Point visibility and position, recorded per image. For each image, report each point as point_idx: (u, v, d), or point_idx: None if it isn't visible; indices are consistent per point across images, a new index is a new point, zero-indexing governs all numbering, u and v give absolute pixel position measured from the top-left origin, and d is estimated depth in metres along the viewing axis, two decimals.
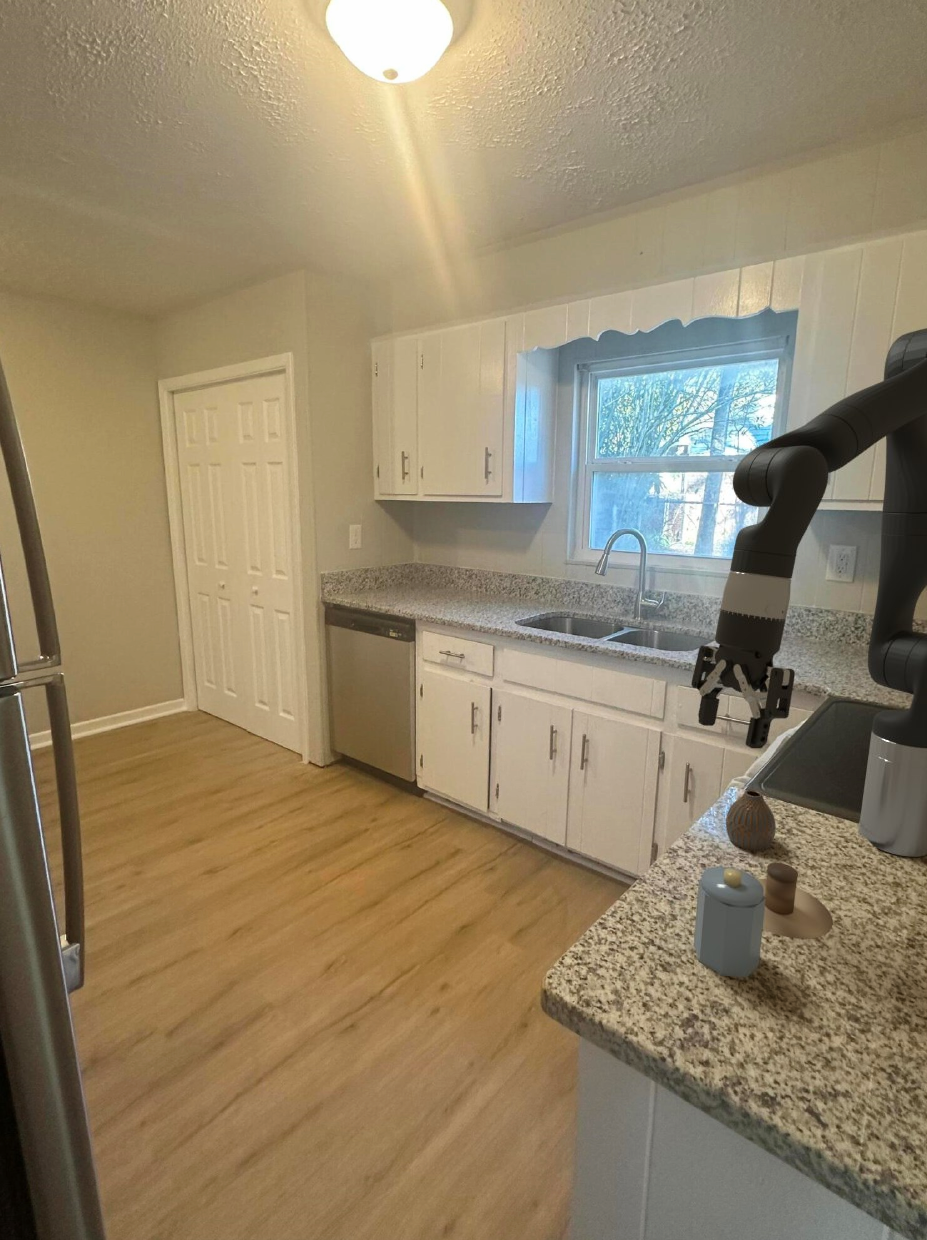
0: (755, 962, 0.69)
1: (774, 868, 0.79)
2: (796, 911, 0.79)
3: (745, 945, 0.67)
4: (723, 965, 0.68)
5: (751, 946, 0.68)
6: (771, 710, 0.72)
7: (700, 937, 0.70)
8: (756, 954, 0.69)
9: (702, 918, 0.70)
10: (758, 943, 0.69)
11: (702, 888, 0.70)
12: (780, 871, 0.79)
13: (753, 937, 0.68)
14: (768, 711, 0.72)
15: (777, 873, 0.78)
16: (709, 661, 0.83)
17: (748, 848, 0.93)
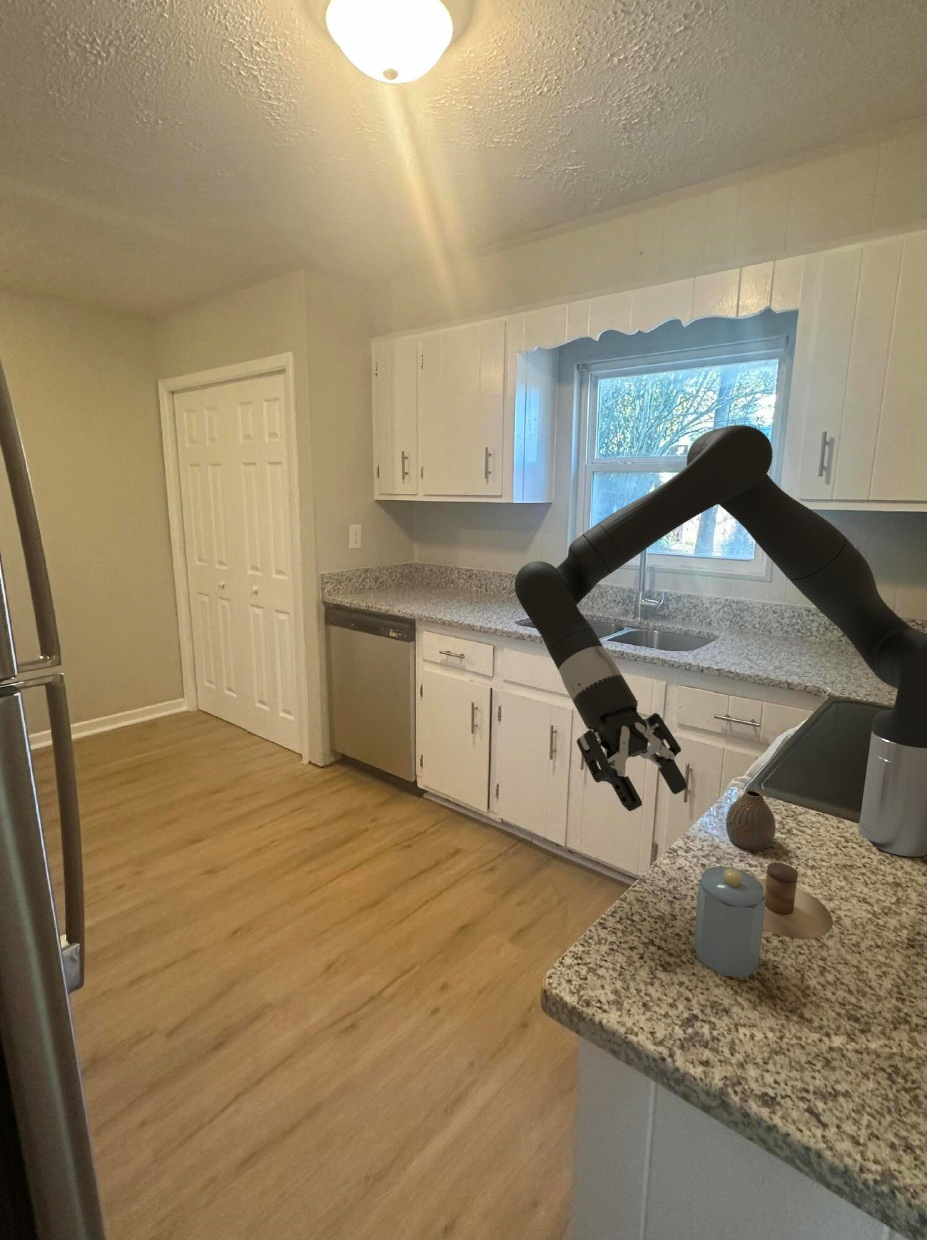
0: (755, 962, 0.69)
1: (774, 868, 0.79)
2: (796, 911, 0.79)
3: (745, 945, 0.67)
4: (723, 965, 0.68)
5: (751, 946, 0.68)
6: None
7: (700, 937, 0.70)
8: (756, 954, 0.69)
9: (702, 918, 0.70)
10: (758, 943, 0.69)
11: (702, 888, 0.70)
12: (780, 871, 0.79)
13: (753, 937, 0.68)
14: None
15: (777, 873, 0.78)
16: (649, 732, 0.84)
17: (748, 848, 0.93)
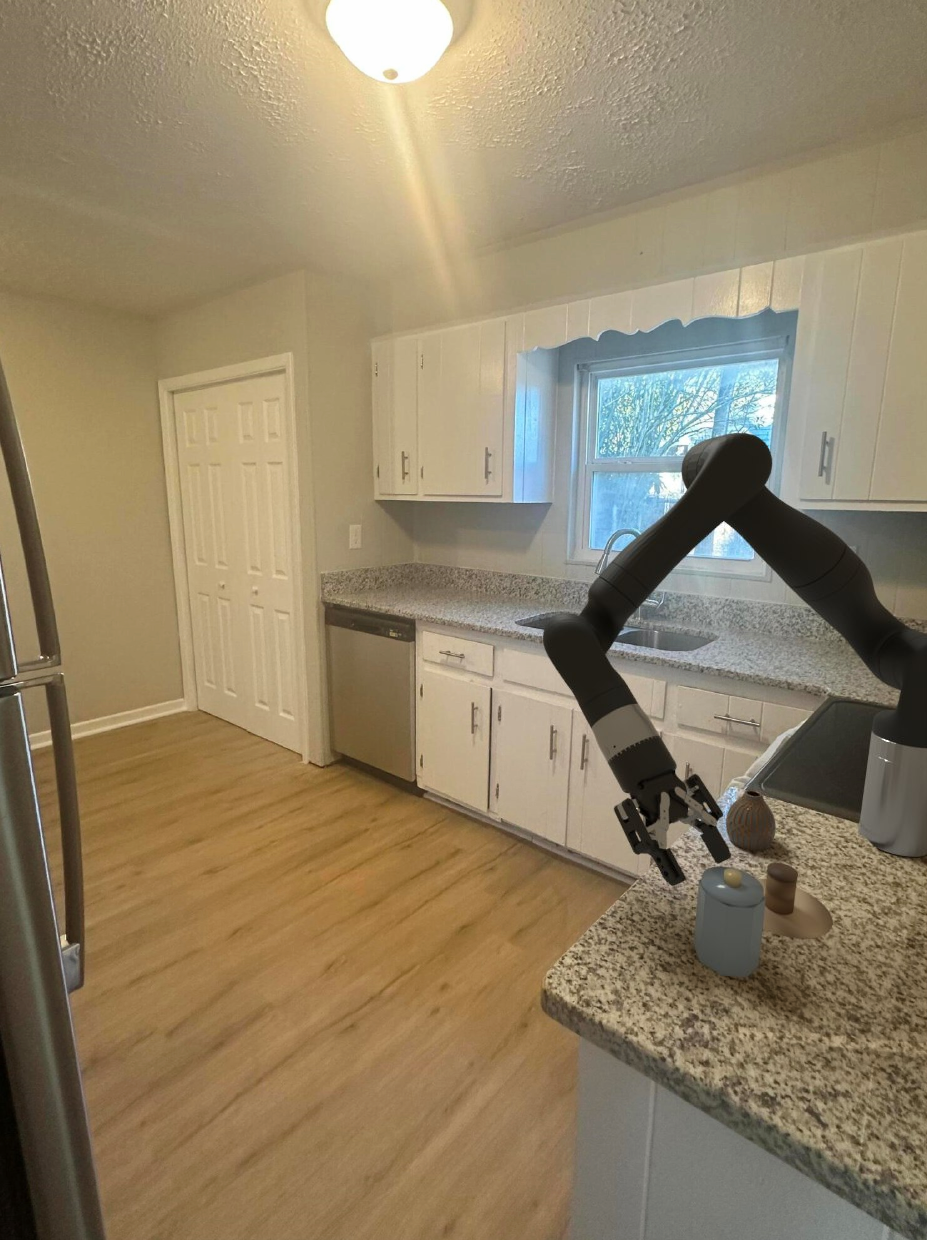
0: (755, 962, 0.69)
1: (774, 868, 0.79)
2: (796, 911, 0.79)
3: (745, 945, 0.67)
4: (723, 965, 0.68)
5: (751, 946, 0.68)
6: None
7: (700, 937, 0.70)
8: (756, 954, 0.69)
9: (702, 918, 0.70)
10: (758, 943, 0.69)
11: (702, 888, 0.70)
12: (780, 871, 0.79)
13: (753, 937, 0.68)
14: None
15: (777, 873, 0.78)
16: None
17: (748, 848, 0.93)
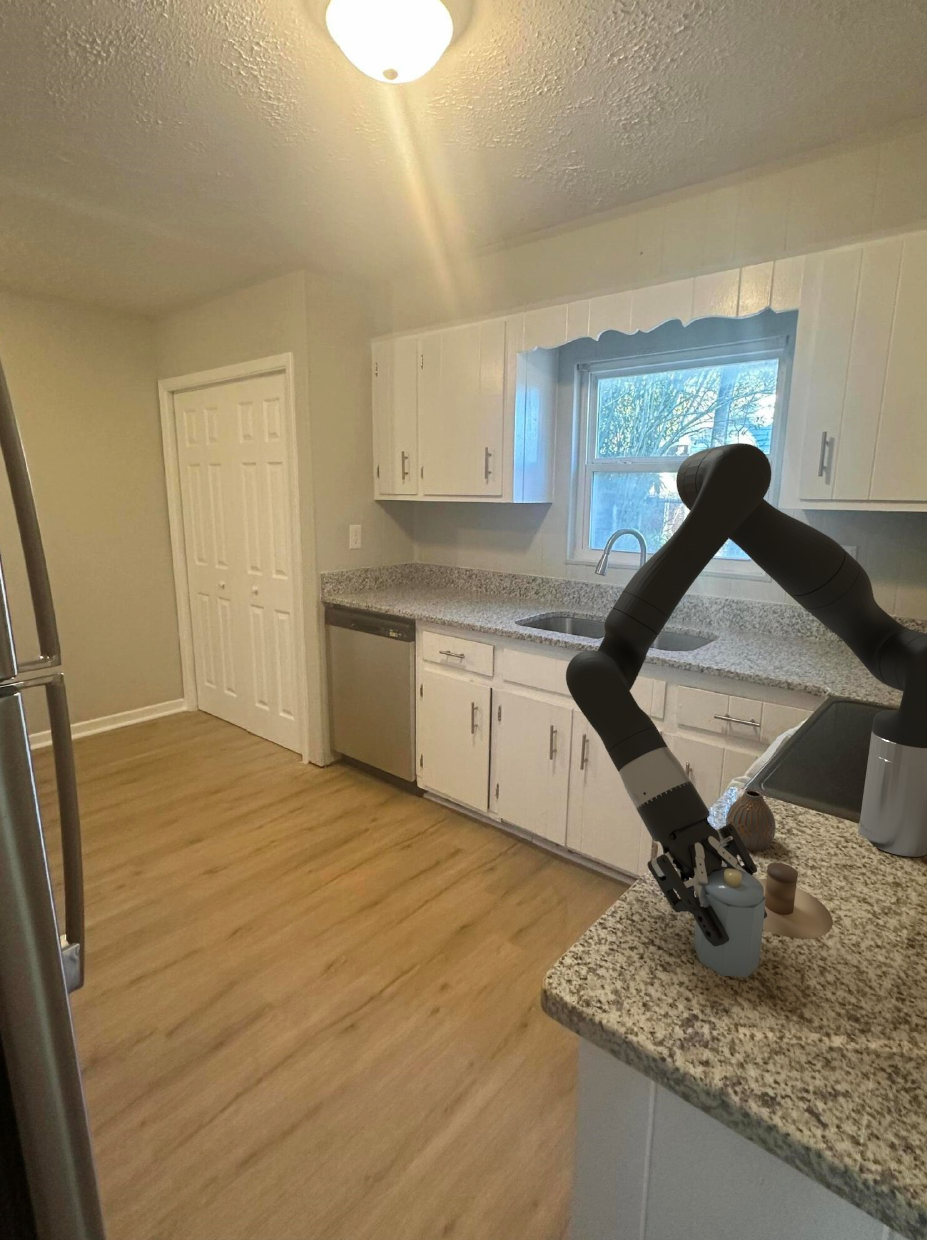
0: (755, 962, 0.69)
1: (774, 868, 0.79)
2: (796, 911, 0.79)
3: (745, 945, 0.67)
4: (723, 965, 0.68)
5: (751, 946, 0.68)
6: None
7: (700, 937, 0.70)
8: (756, 954, 0.69)
9: None
10: (758, 944, 0.69)
11: None
12: (780, 871, 0.79)
13: (753, 938, 0.68)
14: None
15: (777, 873, 0.78)
16: None
17: (748, 848, 0.93)
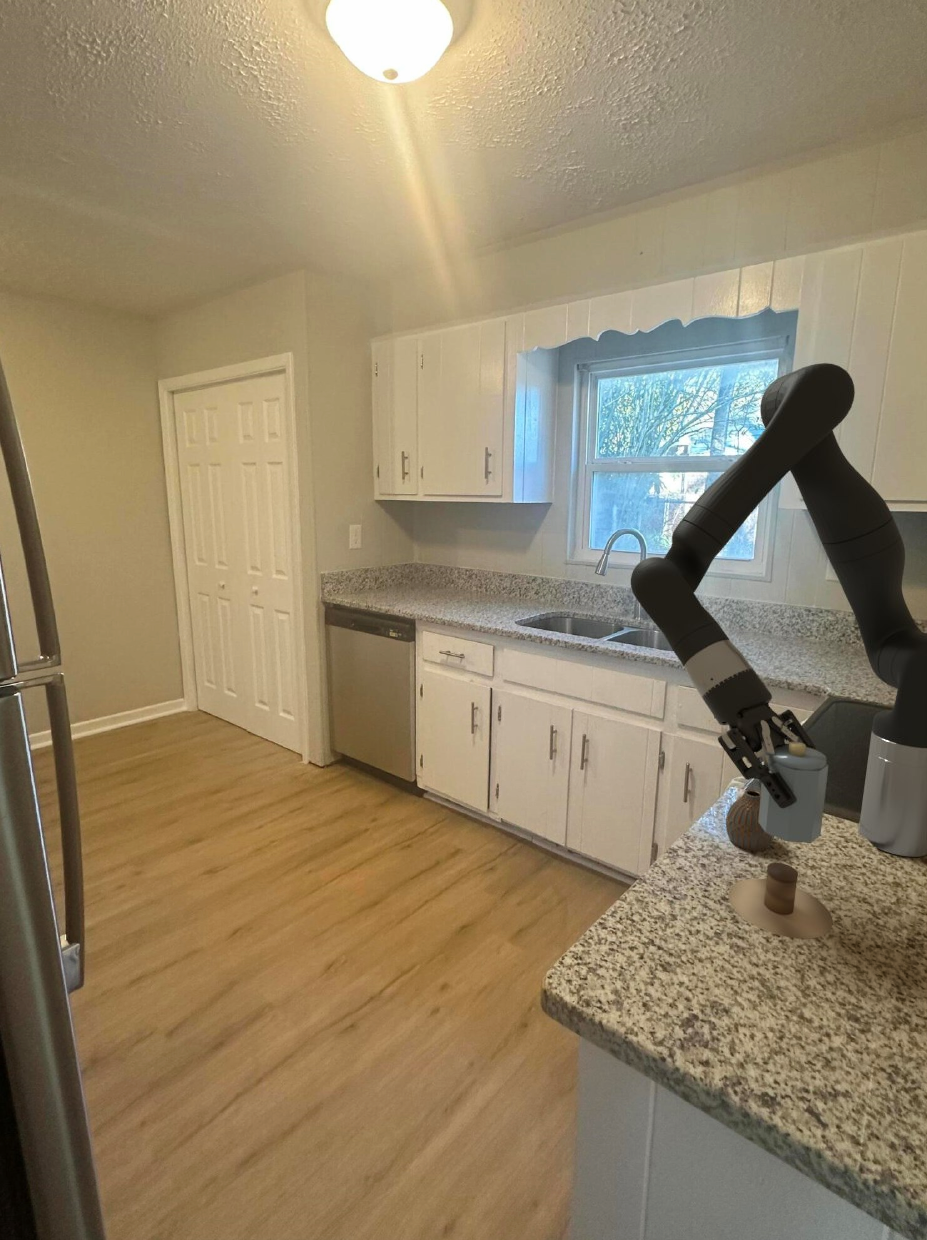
0: (818, 825, 0.75)
1: (774, 868, 0.79)
2: (796, 911, 0.79)
3: (811, 806, 0.74)
4: (789, 826, 0.74)
5: (816, 808, 0.74)
6: None
7: (767, 805, 0.77)
8: (819, 817, 0.75)
9: None
10: (821, 807, 0.75)
11: None
12: (780, 871, 0.79)
13: (818, 800, 0.74)
14: None
15: (777, 873, 0.78)
16: None
17: (748, 848, 0.93)
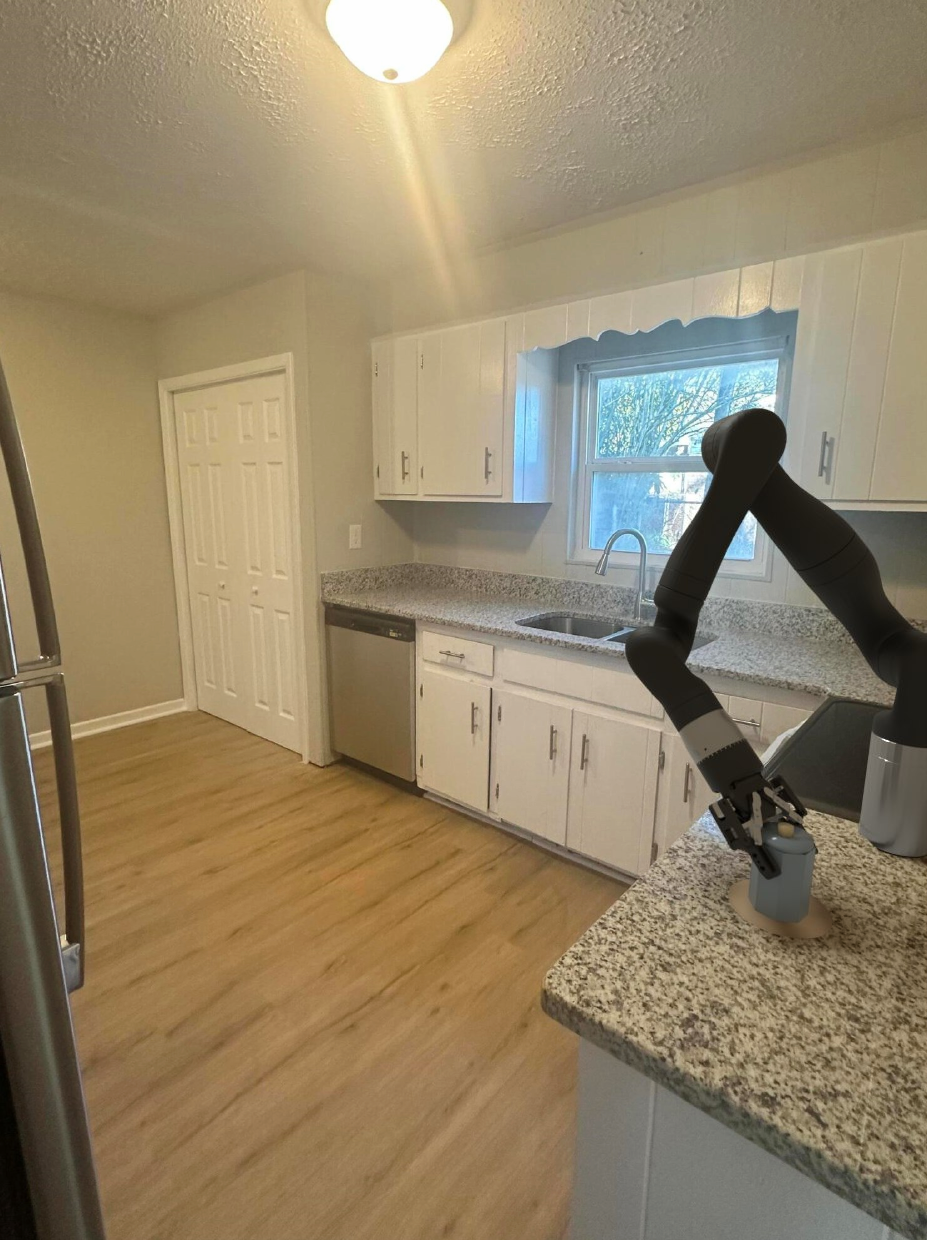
0: (806, 905, 0.78)
1: None
2: None
3: (798, 888, 0.76)
4: (777, 907, 0.77)
5: (803, 889, 0.76)
6: None
7: (756, 883, 0.79)
8: (807, 897, 0.77)
9: None
10: (808, 888, 0.77)
11: None
12: None
13: (805, 882, 0.76)
14: None
15: None
16: None
17: None
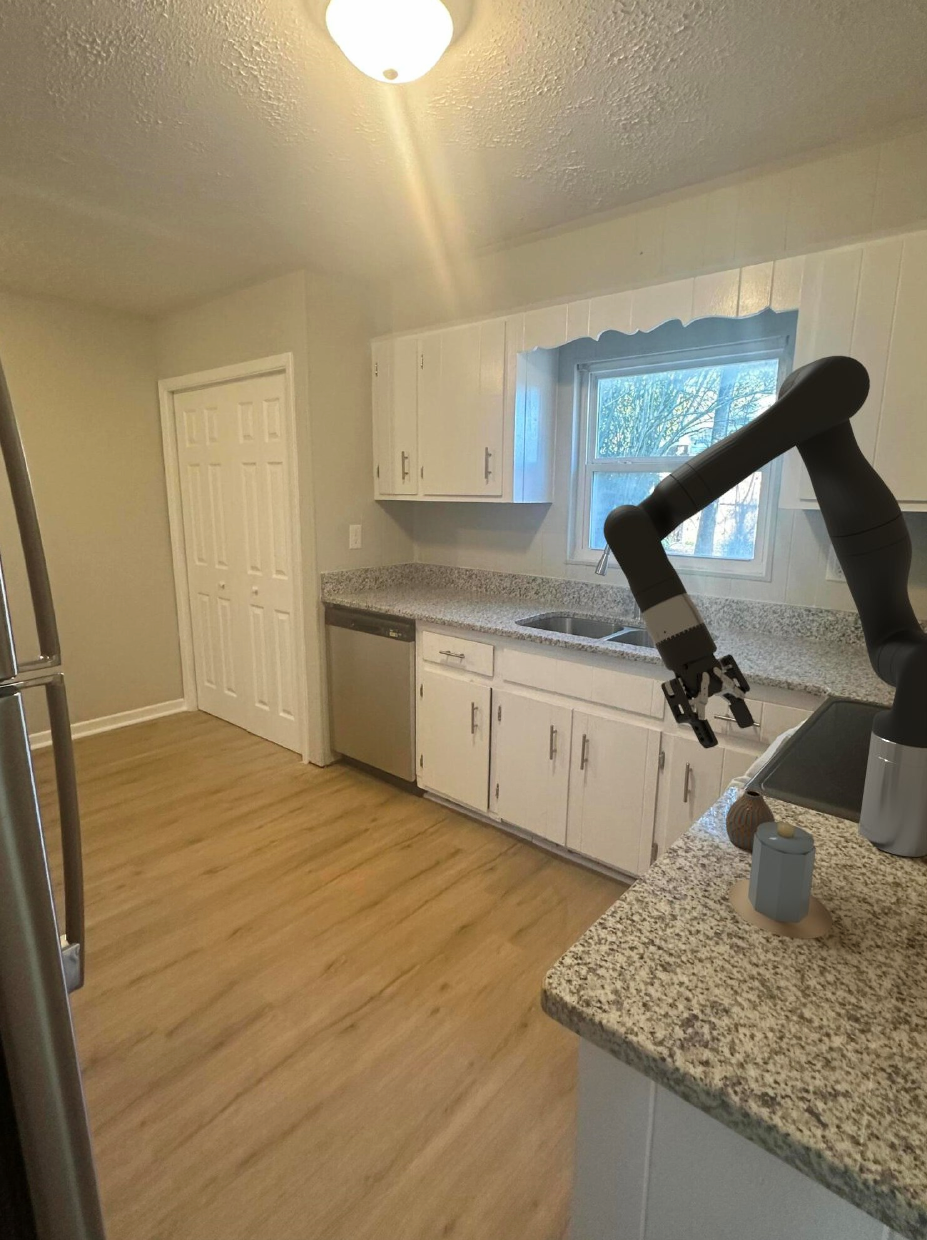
0: (806, 905, 0.78)
1: None
2: None
3: (798, 888, 0.76)
4: (777, 907, 0.77)
5: (803, 889, 0.76)
6: None
7: (756, 883, 0.79)
8: (807, 897, 0.77)
9: (758, 866, 0.78)
10: (808, 888, 0.77)
11: (758, 839, 0.79)
12: None
13: (805, 882, 0.76)
14: None
15: None
16: (722, 671, 0.92)
17: (748, 848, 0.93)
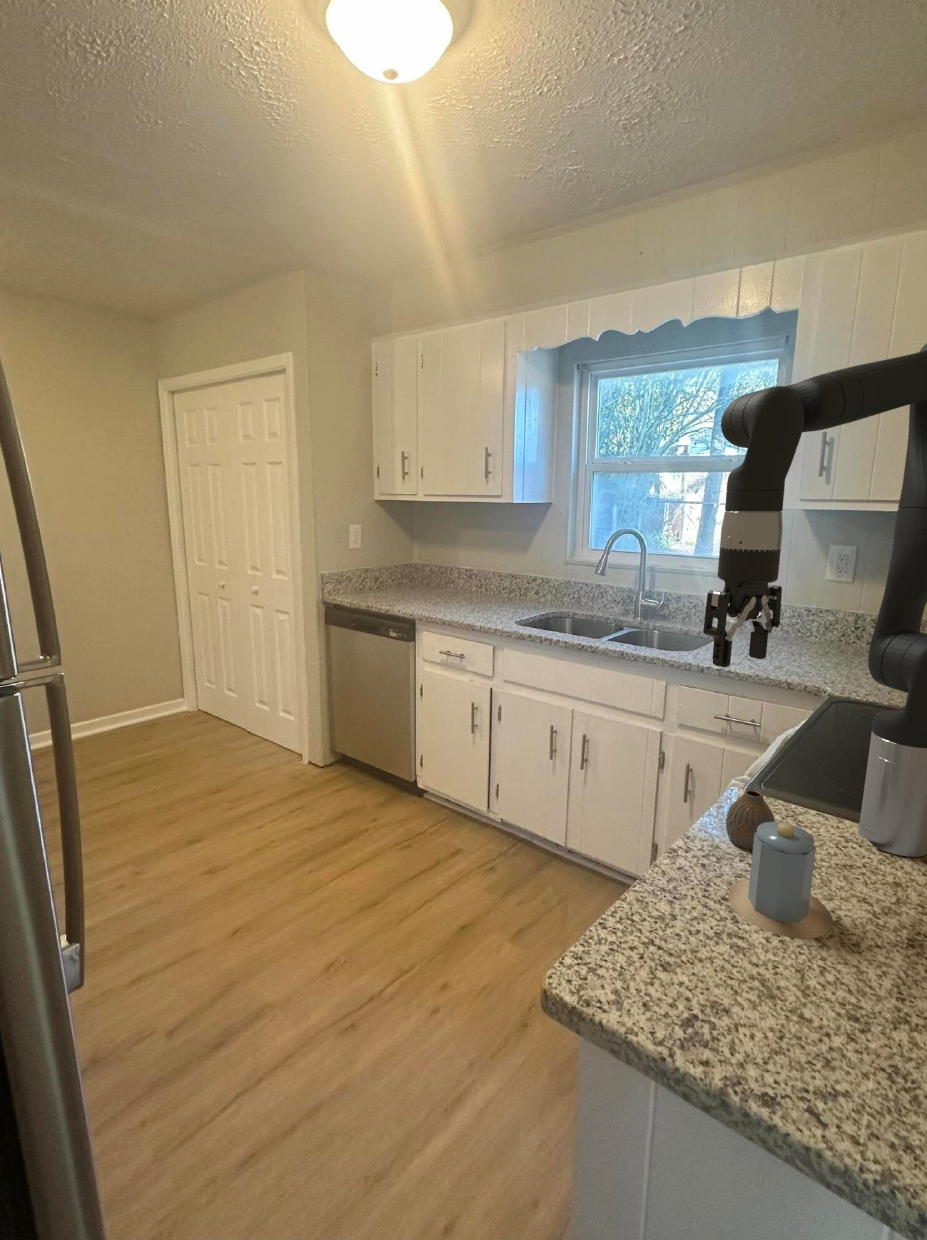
0: (806, 905, 0.78)
1: None
2: None
3: (798, 888, 0.76)
4: (777, 907, 0.77)
5: (803, 889, 0.76)
6: None
7: (756, 883, 0.79)
8: (807, 897, 0.77)
9: (758, 866, 0.78)
10: (808, 888, 0.77)
11: (758, 839, 0.79)
12: None
13: (805, 882, 0.76)
14: None
15: None
16: None
17: (748, 848, 0.93)
